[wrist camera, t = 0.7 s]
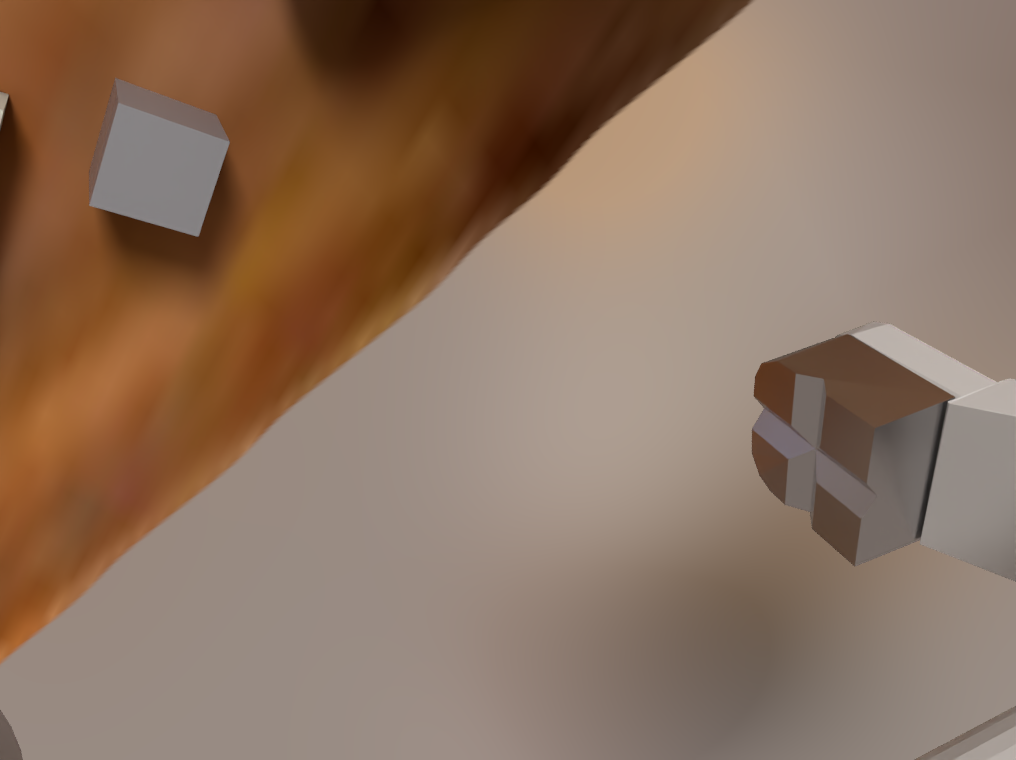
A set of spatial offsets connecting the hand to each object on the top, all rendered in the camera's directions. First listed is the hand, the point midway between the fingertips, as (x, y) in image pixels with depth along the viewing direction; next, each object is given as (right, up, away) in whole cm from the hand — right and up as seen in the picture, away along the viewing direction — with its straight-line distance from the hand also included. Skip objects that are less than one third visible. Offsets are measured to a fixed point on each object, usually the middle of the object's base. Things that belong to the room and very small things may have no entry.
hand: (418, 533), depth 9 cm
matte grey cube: (-16, +13, +32) cm, 38 cm away
